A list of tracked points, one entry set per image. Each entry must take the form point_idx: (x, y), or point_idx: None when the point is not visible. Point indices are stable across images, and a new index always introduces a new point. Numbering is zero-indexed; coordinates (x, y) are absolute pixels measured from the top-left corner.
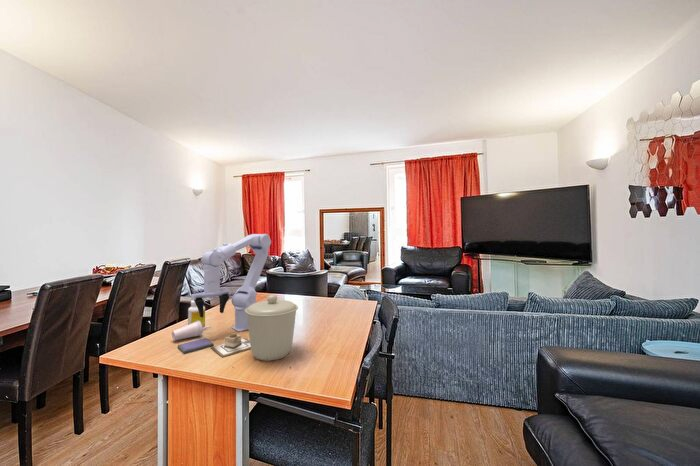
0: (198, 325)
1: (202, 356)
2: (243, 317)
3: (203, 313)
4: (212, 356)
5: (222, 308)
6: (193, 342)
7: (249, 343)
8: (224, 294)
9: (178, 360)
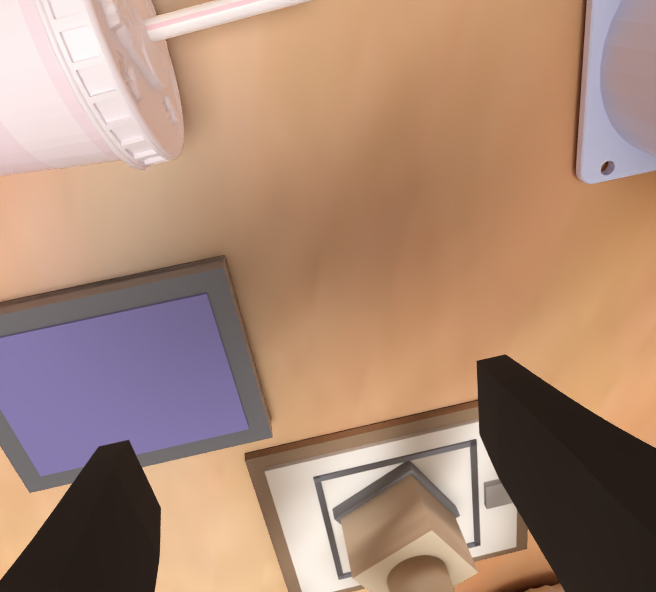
0: (107, 150)
1: (180, 546)
2: None
3: (155, 582)
4: (242, 565)
5: (528, 523)
6: (92, 344)
7: (503, 509)
8: None
9: (18, 547)
